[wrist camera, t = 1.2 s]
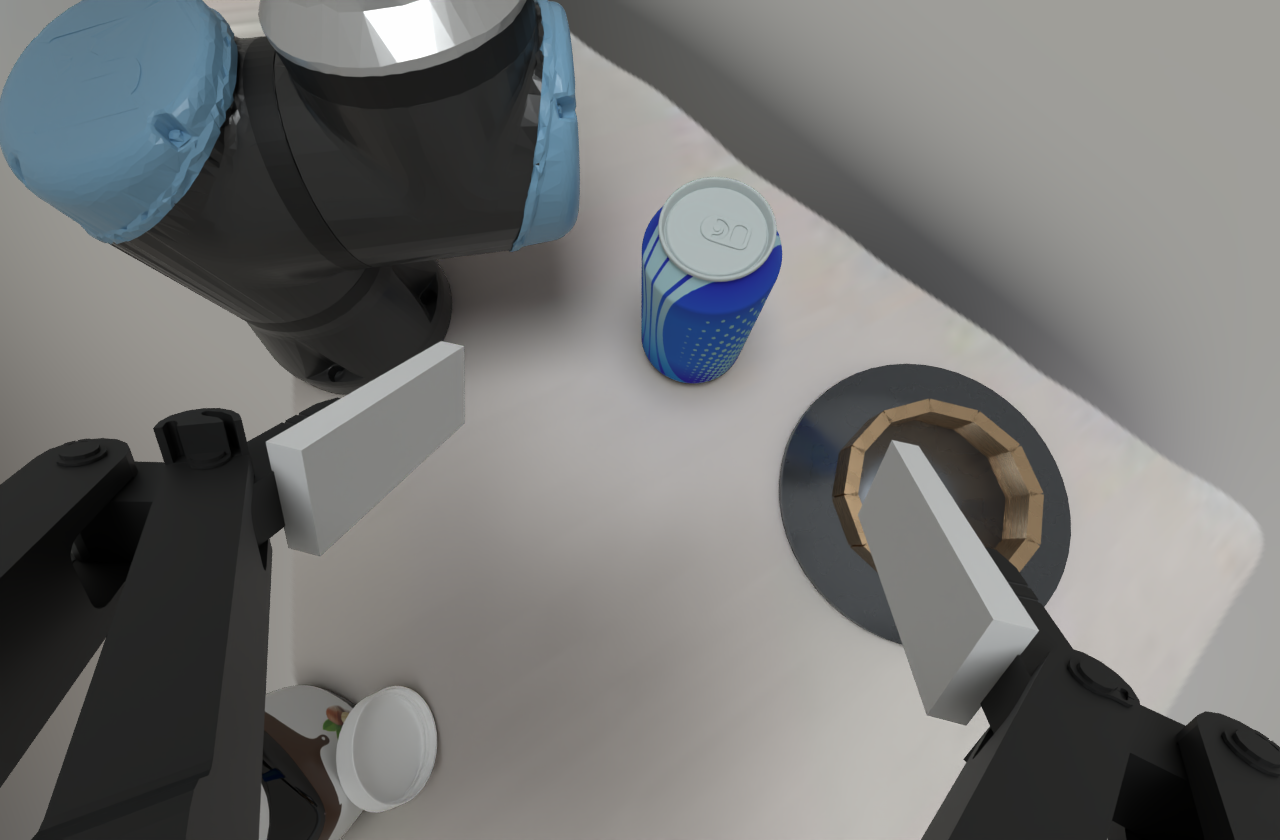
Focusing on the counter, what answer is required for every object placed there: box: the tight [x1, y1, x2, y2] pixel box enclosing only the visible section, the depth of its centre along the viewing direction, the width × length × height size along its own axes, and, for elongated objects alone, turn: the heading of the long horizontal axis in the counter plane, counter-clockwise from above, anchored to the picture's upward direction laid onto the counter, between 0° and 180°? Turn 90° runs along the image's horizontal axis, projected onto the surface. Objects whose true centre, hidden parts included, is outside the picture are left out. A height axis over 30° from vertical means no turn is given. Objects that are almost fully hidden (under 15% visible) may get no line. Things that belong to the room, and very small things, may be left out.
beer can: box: [642, 177, 782, 383], centre depth 36 cm, size 8×8×16 cm
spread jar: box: [259, 685, 437, 840], centre depth 30 cm, size 12×11×12 cm
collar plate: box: [779, 364, 1071, 645], centre depth 38 cm, size 22×22×4 cm
